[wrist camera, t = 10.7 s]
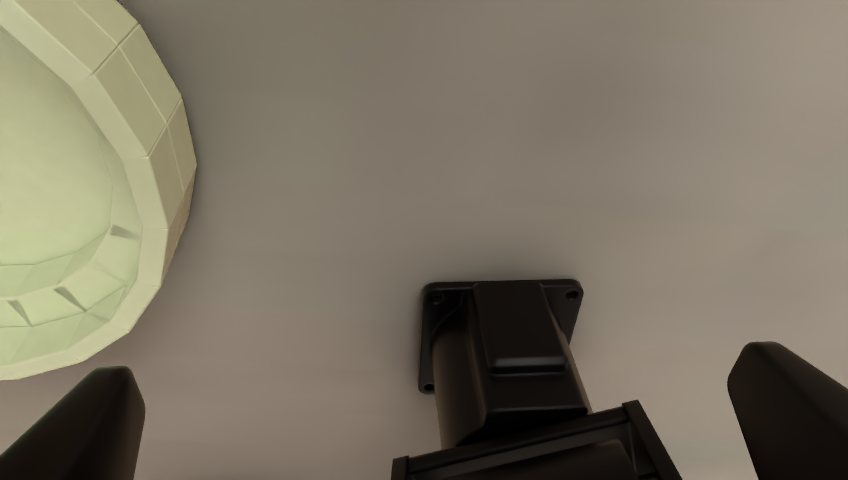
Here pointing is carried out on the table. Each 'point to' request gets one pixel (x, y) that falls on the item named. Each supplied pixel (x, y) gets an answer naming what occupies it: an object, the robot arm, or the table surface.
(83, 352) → the bowl
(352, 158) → the table surface
